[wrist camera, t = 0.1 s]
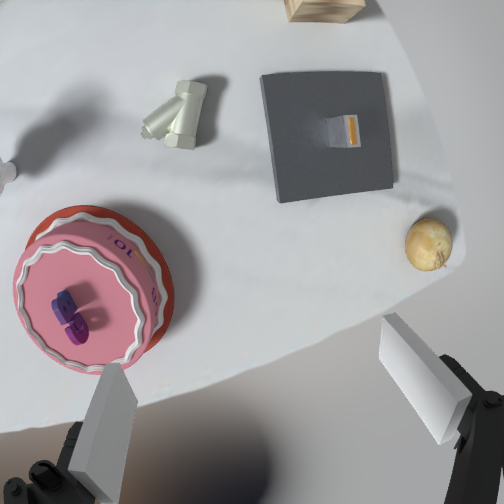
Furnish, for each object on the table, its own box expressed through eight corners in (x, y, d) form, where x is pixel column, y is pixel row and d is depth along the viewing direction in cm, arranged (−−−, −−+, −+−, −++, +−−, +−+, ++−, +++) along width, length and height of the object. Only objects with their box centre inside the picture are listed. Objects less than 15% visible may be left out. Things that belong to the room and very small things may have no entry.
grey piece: (259, 78, 35) (270, 63, 28) (373, 75, 36) (402, 64, 29) (277, 200, 40) (291, 212, 33) (386, 186, 41) (416, 195, 34)
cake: (201, 336, 46) (200, 383, 36) (73, 371, 46) (53, 412, 36) (131, 175, 38) (104, 185, 28) (1, 243, 37) (-39, 267, 27)
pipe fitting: (144, 143, 37) (195, 150, 37) (134, 142, 33) (190, 150, 34) (156, 82, 34) (208, 89, 35) (148, 76, 31) (205, 82, 31)
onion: (391, 230, 44) (418, 244, 37) (429, 205, 43) (458, 216, 37) (406, 272, 46) (430, 290, 40) (441, 247, 46) (467, 262, 39)
